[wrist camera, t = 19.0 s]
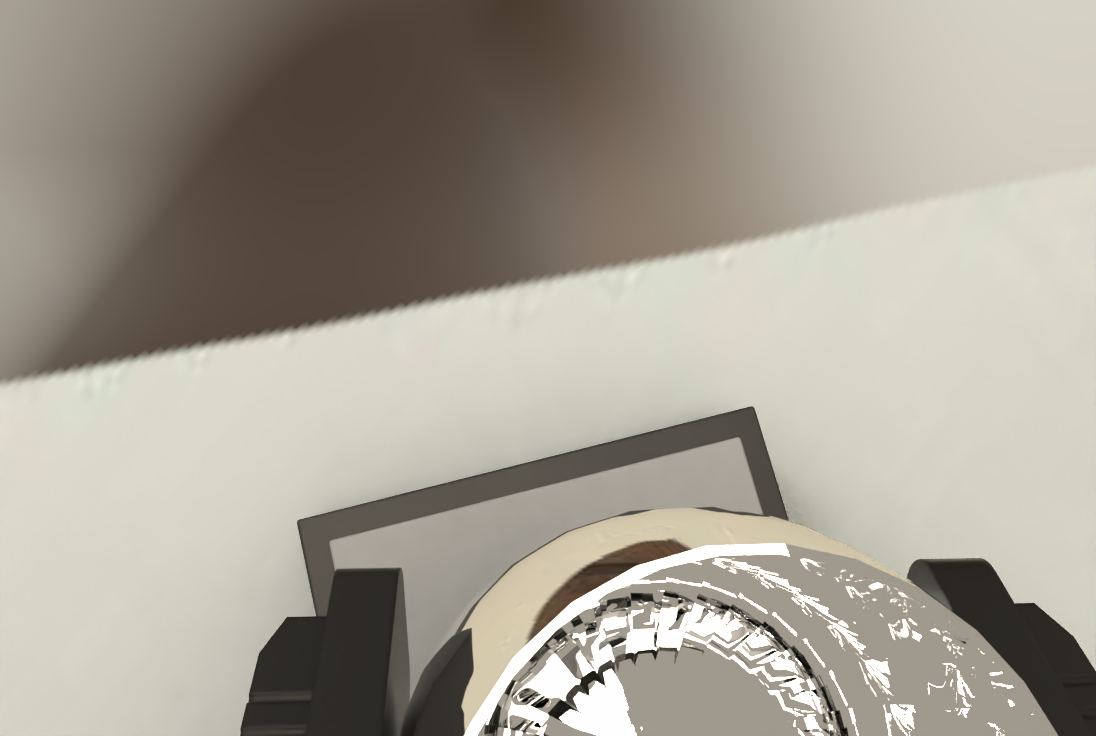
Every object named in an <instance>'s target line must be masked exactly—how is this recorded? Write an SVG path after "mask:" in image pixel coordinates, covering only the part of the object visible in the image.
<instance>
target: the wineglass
mask: <svg viewBox="0 0 1096 736" xmlns="http://www.w3.org/2000/svg"><path fill="white" fill-rule="evenodd" d="M399 736H1058V734H1057V733H1056V731H1055V730H1054V728H1053V726H1052V725H1051V723H1050V722H1049V720H1048V718H1047V717H1046V715H1045V714H1044V712H1043V711H1042V709H1041V707H1040V706H1039V704H1038V703H1037V701H1036V699H1035V698H1034V696H1033V695H1032V693H1031V692H1030V690H1029V688H1028V687H1027V685H1026V684H1025V682H1024V681H1023V680H1022V679H1021V678H1020V677H1019V676H1018V675H1017V673H1016V672H1015V671H1014V670H1013V669H1012V668H1011V667H1010V666H1009V665H1008V664H1007V663H1006V661H1005V660H1004V659H1003V658H1002V657H1001V656H1000V655H999V654H998V653H997V652H996V651H995V649H994V648H993V647H992V646H991V645H990V644H989V643H988V642H987V641H986V640H985V639H984V637H983V636H982V635H981V634H980V633H979V632H978V631H977V630H976V629H974V628H973V627H972V626H970V625H969V624H968V623H966V622H965V621H964V620H962V619H961V618H960V617H959V616H957V615H956V614H955V613H954V612H952V611H951V610H950V609H948V608H947V607H946V606H945V605H943V604H942V603H941V602H939V601H938V600H937V599H936V598H934V597H933V596H932V595H931V594H929V593H928V592H927V591H925V590H924V589H923V588H922V587H920V586H919V585H918V584H916V583H914V582H912V581H911V580H909V579H907V578H905V577H904V576H902V575H900V574H898V573H897V572H895V571H893V570H891V569H890V568H888V567H886V566H884V565H883V564H881V563H879V562H878V561H876V560H874V559H872V558H871V557H869V556H868V555H866V554H865V553H863V552H861V551H859V550H857V549H855V548H852V547H850V546H848V545H846V544H843V543H841V542H839V541H836V540H834V539H832V538H830V537H827V536H825V535H823V534H820V533H818V532H816V531H814V530H811V529H809V528H807V527H805V526H802V525H799V524H796V523H793V522H790V521H786V520H783V519H780V518H777V517H773V516H768V515H761V514H755V513H749V512H743V511H736V510H730V509H724V508H717V507H710V506H701V505H687V506H676V507H665V508H655V509H644V510H633V511H623V512H620V513H617V514H614V515H611V516H607V517H604V518H601V519H598V520H595V521H592V522H589V523H585V524H582V525H579V526H577V527H574V528H572V529H569V530H566V531H564V532H562V533H560V534H559V535H557V536H555V537H553V538H551V539H550V540H548V541H546V542H544V543H542V544H541V545H539V546H537V547H535V548H533V549H532V550H530V551H528V552H526V553H525V554H523V555H522V556H521V557H519V558H518V559H516V560H515V561H514V562H512V563H511V564H510V565H509V566H508V567H506V568H505V569H504V570H503V571H502V572H501V573H500V574H498V575H497V576H496V577H495V578H494V579H493V580H492V581H490V582H489V583H488V584H487V585H486V586H485V587H484V588H483V589H481V590H480V591H479V592H478V593H477V594H476V595H475V596H474V597H473V598H472V599H471V600H470V602H469V603H468V604H467V605H466V606H465V608H464V609H463V610H462V611H461V612H460V614H459V615H458V617H457V618H456V620H455V621H454V622H453V624H452V625H451V627H450V628H449V630H448V631H447V633H446V634H445V636H444V638H443V639H442V641H441V642H440V644H439V645H438V647H437V648H436V650H435V652H434V653H433V655H432V656H431V658H430V659H429V661H428V663H427V664H426V666H425V667H424V669H423V671H422V674H421V676H420V678H419V681H418V683H417V685H416V688H415V690H414V692H413V695H412V697H411V700H410V702H409V704H408V707H407V709H406V711H405V714H404V718H403V722H402V726H401V730H400V734H399Z"/></svg>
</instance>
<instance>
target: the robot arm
mask: <svg viewBox="0 0 1096 736" xmlns="http://www.w3.org/2000/svg"><path fill="white" fill-rule="evenodd" d="M907 579H909V580H911V581H912V582H914V583H916V584H918V585H919V586H920V587H922V588H923V589H924V590H925V591H927V592H928V593H929V594H931V595H932V596H933V597H934V598H936V599H937V600H938V601H939V602H941V603H942V604H943V605H945V606H946V607H947V608H948V609H950V610H951V611H952V612H954V613H955V614H956V615H957V616H959V617H960V618H961V619H962V620H964V621H965V622H966V623H968V624H969V625H970V626H972V627H973V628H974V629H976V630H977V631H978V632H979V633H980V634H981V635H982V636H983V637H984V639H985V640H986V641H987V642H988V643H989V644H990V645H991V646H992V647H993V648H994V649H995V651H996V652H997V653H998V654H999V655H1000V656H1001V657H1002V658H1003V659H1004V660H1005V661H1006V663H1007V664H1008V665H1009V666H1010V667H1011V668H1012V669H1013V670H1014V671H1015V672H1016V673H1017V675H1018V676H1019V677H1020V678H1021V679H1022V680H1023V681H1024V682H1025V684H1026V685H1027V687H1028V688H1029V690H1030V692H1031V693H1032V695H1033V696H1034V698H1035V699H1036V701H1037V703H1038V704H1039V706H1040V707H1041V709H1042V711H1043V712H1044V714H1045V715H1046V717H1047V718H1048V720H1049V722H1050V723H1051V725H1052V726H1053V728H1054V730H1055V731H1056V733H1057V734H1058V736H1096V671H1095V670H1094V668H1093V666H1092V665H1091V663H1090V662H1089V660H1088V659H1087V657H1086V655H1085V654H1084V652H1083V651H1082V649H1081V648H1080V646H1079V644H1078V643H1077V641H1076V640H1075V638H1074V637H1073V636H1072V635H1071V634H1070V633H1069V632H1067V631H1066V630H1065V629H1064V628H1063V627H1062V626H1060V625H1059V624H1058V623H1057V622H1056V621H1055V620H1053V619H1052V618H1051V617H1050V616H1049V615H1048V614H1046V613H1045V612H1044V611H1043V610H1042V609H1040V608H1039V607H1038V606H1037V605H1036V604H1035V603H1018V604H1014V602H1013V600H1012V599H1011V597H1010V595H1009V594H1008V592H1007V590H1006V588H1005V587H1004V585H1003V583H1002V582H1001V580H1000V578H999V577H998V575H997V573H996V572H995V570H994V569H993V567H992V566H991V565H990V564H989V562H987V561H986V560H984V559H981V558H966V559H919V560H916V561H914V563H913V564H912V565H911V567H910V569H909V572H908V576H907ZM409 702H410V663H409V648H408V634H407V620H406V606H405V593H404V579H403V571H402V568H401V567H398V568H346V569H336V571H335V574H334V577H333V582H332V588H331V593H330V599H329V604H328V610H327V615H326V616H316V617H287V618H286V619H285V620H284V622H283V623H282V624H281V626H280V627H279V628H278V630H277V631H276V632H275V633H274V635H273V636H272V637H271V639H270V640H269V641H268V643H267V644H266V645H265V646H264V648H263V649H262V650H261V652H260V653H259V656H258V660H257V664H256V668H255V672H254V676H253V680H252V684H251V688H250V693H249V703H247V705H246V709H245V713H244V717H243V721H242V725H241V735H240V736H399V734H400V730H401V726H402V722H403V718H404V714H405V711H406V709H407V707H408V704H409Z"/></svg>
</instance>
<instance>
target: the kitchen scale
mask: <svg viewBox="0 0 1096 736" xmlns="http://www.w3.org/2000/svg"><path fill="white" fill-rule="evenodd" d="M687 505H701V506H710V507H717V508H724V509H730V510H736V511H743V512H749V513H755V514H761V515H768V516H773V517H777V518H780V519H783V520H786V521H789V520H788V517H787V514H786V510H785V507H784V504H783V501H782V497H781V494H780V491H779V487H778V484H777V481H776V478H775V474H774V471H773V468H772V465H771V461H770V458H769V455H768V451H767V448H766V445H765V442H764V438H763V435H762V432H761V428H760V425H759V422H758V419H757V415H756V412H755V409H754V407H747V408H743V409H739V410H735V411H731V412H727V413H723V414H719V415H715V416H711V417H707V418H703V419H699V420H695V421H691V422H687V423H683V424H679V425H675V426H671V427H667V428H663V429H659V430H655V431H651V432H647V433H643V434H639V435H635V436H631V437H627V438H623V439H619V440H615V441H611V442H607V443H603V444H599V445H595V446H591V447H587V448H583V449H579V450H575V451H571V452H567V453H563V454H559V455H555V456H551V457H547V458H543V459H539V460H536V461H532V462H528V463H524V464H520V465H516V466H512V467H508V468H504V469H500V470H496V471H492V472H488V473H484V474H480V475H476V476H472V477H468V478H464V479H460V480H456V481H452V482H448V483H444V484H440V485H436V486H432V487H428V488H424V489H420V490H416V491H412V492H408V493H404V494H400V495H396V496H392V497H388V498H384V499H380V500H376V501H372V502H368V503H364V504H360V505H356V506H352V507H348V508H344V509H340V510H336V511H332V512H328V513H324V514H320V515H316V516H312V517H308V518H304V519H300V520H298V521H297V525H298V530H299V535H300V540H301V544H302V549H303V554H304V559H305V564H306V569H307V574H308V578H309V583H310V588H311V593H312V598H313V603H314V608H315V612H316V616H326V615H327V610H328V604H329V599H330V593H331V588H332V582H333V577H334V574H335V571H336V569H346V568H398V567H401V568H402V571H403V579H404V593H405V606H406V620H407V634H408V648H409V663H410V700H411V697H412V695H413V692H414V690H415V688H416V685H417V683H418V681H419V678H420V676H421V674H422V671H423V669H424V667H425V666H426V664H427V663H428V661H429V659H430V658H431V656H432V655H433V653H434V652H435V650H436V648H437V647H438V645H439V644H440V642H441V641H442V639H443V638H444V636H445V634H446V633H447V631H448V630H449V628H450V627H451V625H452V624H453V622H454V621H455V620H456V618H457V617H458V615H459V614H460V612H461V611H462V610H463V609H464V608H465V606H466V605H467V604H468V603H469V602H470V600H471V599H472V598H473V597H474V596H475V595H476V594H477V593H478V592H479V591H480V590H481V589H483V588H484V587H485V586H486V585H487V584H488V583H489V582H490V581H492V580H493V579H494V578H495V577H496V576H497V575H498V574H500V573H501V572H502V571H503V570H504V569H505V568H506V567H508V566H509V565H510V564H511V563H512V562H514V561H515V560H516V559H518V558H519V557H521V556H522V555H523V554H525V553H526V552H528V551H530V550H532V549H533V548H535V547H537V546H539V545H541V544H542V543H544V542H546V541H548V540H550V539H551V538H553V537H555V536H557V535H559V534H560V533H562V532H564V531H566V530H569V529H572V528H574V527H577V526H579V525H582V524H585V523H589V522H592V521H595V520H598V519H601V518H604V517H607V516H611V515H614V514H617V513H620V512H623V511H633V510H644V509H655V508H665V507H676V506H687Z"/></svg>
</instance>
